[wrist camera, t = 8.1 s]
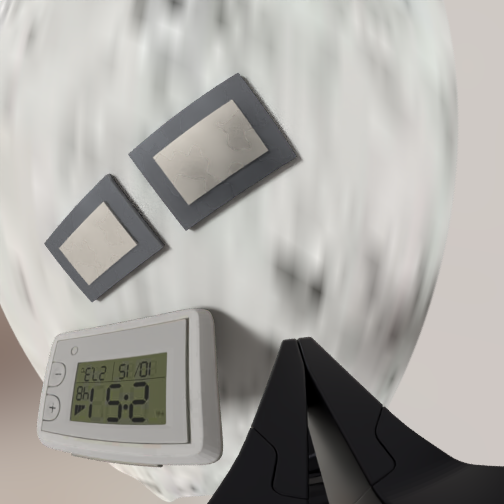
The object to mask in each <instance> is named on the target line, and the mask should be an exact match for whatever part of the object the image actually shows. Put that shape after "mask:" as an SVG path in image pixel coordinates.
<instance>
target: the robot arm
mask: <svg viewBox="0 0 504 504" xmlns="http://www.w3.org/2000/svg"><path fill="white" fill-rule="evenodd" d="M207 504H504V466H503V467H502V466H485V465H473V464H467V463H464V462H461V461H458V460H456V459H454V458H452V457H450V456H449V455H447V454H446V453H445V452H443V451H442V450H440V449H439V448H437V447H436V446H434V445H433V444H431V443H430V442H428V441H427V440H425V439H424V438H422V437H421V436H420V435H418V434H417V433H415V432H414V431H412V430H411V429H410V428H409V427H407V426H406V425H405V424H404V423H402V422H401V421H400V420H399V419H398V418H396V417H395V416H394V415H393V414H392V413H391V412H390V411H389V410H388V409H387V408H386V407H383V405H382V404H381V403H380V402H379V401H378V400H377V399H376V398H375V397H374V396H373V395H372V394H370V393H369V392H368V391H367V390H366V389H365V388H364V387H363V386H362V385H361V384H360V383H359V382H358V381H357V380H356V379H355V378H353V377H352V376H351V375H350V374H349V373H348V372H347V371H346V370H345V369H344V368H343V367H342V366H341V365H340V364H339V363H338V362H337V361H336V360H335V359H334V358H332V357H331V356H330V355H329V354H328V353H327V352H326V351H325V350H324V349H323V348H322V347H321V346H320V345H319V344H318V343H317V342H316V341H315V340H314V339H313V338H311V337H304V338H299V339H298V340H296V339H286V340H283V341H282V343H281V346H280V349H279V352H278V355H277V358H276V361H275V364H274V367H273V369H272V372H271V375H270V378H269V380H268V383H267V386H266V389H265V391H264V394H263V397H262V399H261V402H260V405H259V407H258V410H257V413H256V415H255V418H254V420H253V423H252V425H251V428H250V430H249V432H248V435H247V437H246V440H245V442H244V444H243V446H242V448H241V451H240V453H239V455H238V457H237V458H236V460H235V462H234V464H233V465H232V467H231V469H230V471H229V472H228V474H227V475H226V477H225V478H224V480H223V481H222V483H221V484H220V486H219V487H218V489H217V490H216V492H215V493H214V495H213V496H212V498H211V499H210V500H209V502H208V503H207Z"/></svg>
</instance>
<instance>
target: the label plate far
mask: <svg viewBox="0 0 504 504" xmlns="http://www.w3.org/2000/svg"><path fill="white" fill-rule="evenodd" d="M44 244H45V245H46V247H47V248H48V249H49V251H50V252H51V253H52V255H53V256H54V257H55V259H56V260H57V261H58V263H59V264H60V265H61V266H62V268H63V269H64V270H65V271H66V273H67V274H68V275H69V276H70V278H71V279H72V280H73V281H74V282H75V284H76V285H77V286H78V287H79V288H80V289H81V291H82V292H83V293H84V294H85V295H86V296H87V297H88V299H89V300H90V301H91V302H93V301H95V300H96V299H97V298H98V297H99V296H101V295H102V294H103V293H104V292H106V291H107V290H108V289H109V288H111V287H112V286H113V285H114V284H116V283H117V282H118V281H120V280H121V279H122V278H123V277H125V276H126V275H127V274H129V273H130V272H131V271H132V270H134V269H135V268H136V267H138V266H139V265H140V264H142V263H143V262H144V261H146V260H147V259H148V258H150V257H151V256H152V255H153V254H155V253H156V252H158V251H159V250H160V249H162V248H163V246H164V244H163V243H162V241H161V240H160V239H159V238H158V237H157V235H156V234H155V233H154V231H153V230H152V229H151V228H150V226H149V225H148V224H147V223H146V221H145V220H144V219H143V217H142V216H141V215H140V214H139V212H138V211H137V210H136V208H135V207H134V206H133V205H132V203H131V202H130V201H129V199H128V198H127V197H126V195H125V194H124V193H123V191H122V190H121V189H120V187H119V186H118V184H117V183H116V182H115V180H114V179H113V178H112V176H111V175H110V174H107V175H106V176H105V177H104V178H103V179H102V180H101V181H100V182H99V183H98V184H97V185H96V186H95V187H94V188H93V189H92V190H91V191H90V192H89V193H88V194H87V195H86V196H85V197H84V198H83V199H82V200H81V201H80V202H79V203H78V205H77V206H76V207H75V208H74V209H73V210H72V211H71V212H70V213H69V215H68V216H67V217H66V218H65V219H64V220H63V221H62V223H61V224H60V225H59V226H58V227H57V229H56V230H55V231H54V232H53V233H52V235H51V236H50V237H49V238H48V240H47V241H46V242H45V243H44Z"/></svg>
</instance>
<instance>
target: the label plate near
mask: <svg viewBox="0 0 504 504" xmlns="http://www.w3.org/2000/svg"><path fill="white" fill-rule="evenodd" d="M128 155H129V156H130V158H131V159H132V160H133V162H134V163H135V164H136V166H137V167H138V169H139V170H140V171H141V173H142V174H143V175H144V177H145V178H146V179H147V181H148V182H149V183H150V185H151V186H152V187H153V189H154V190H155V191H156V193H157V194H158V195H159V197H160V198H161V199H162V201H163V202H164V203H165V204H166V206H167V207H168V208H169V210H170V211H171V212H172V214H173V215H174V216H175V217H176V219H177V220H178V221H179V223H180V224H181V225H182V226H183V228H184V229H185V230H188V229H189V228H190V227H192V226H193V225H195V224H196V223H198V222H199V221H200V220H202V219H203V218H205V217H206V216H207V215H209V214H210V213H212V212H213V211H215V210H216V209H218V208H219V207H221V206H222V205H223V204H225V203H226V202H228V201H229V200H231V199H232V198H234V197H235V196H237V195H238V194H240V193H241V192H243V191H244V190H246V189H247V188H249V187H250V186H252V185H253V184H255V183H256V182H258V181H259V180H261V179H262V178H264V177H266V176H267V175H269V174H270V173H272V172H273V171H275V170H276V169H278V168H280V167H281V166H283V165H284V164H286V163H288V162H289V161H291V160H292V159H294V158H296V157H297V156H296V154H295V153H294V151H293V150H292V148H291V147H290V145H289V144H288V142H287V141H286V139H285V138H284V136H283V135H282V133H281V132H280V130H279V129H278V127H277V126H276V124H275V123H274V121H273V120H272V118H271V117H270V116H269V114H268V113H267V111H266V110H265V108H264V107H263V106H262V104H261V103H260V101H259V100H258V99H257V97H256V96H255V95H254V93H253V92H252V90H251V89H250V88H249V86H248V85H247V84H246V82H245V81H244V80H243V78H242V77H241V76H240V74H239V73H237V74H235V75H234V76H232V77H230V78H229V79H227V80H226V81H224V82H222V83H221V84H219V85H218V86H216V87H215V88H213V89H212V90H210V91H209V92H207V93H206V94H204V95H203V96H202V97H200V98H199V99H197V100H196V101H194V102H193V103H192V104H190V105H189V106H187V107H186V108H185V109H183V110H182V111H181V112H179V113H178V114H177V115H175V116H174V117H173V118H171V119H170V120H169V121H168V122H166V123H165V124H164V125H162V126H161V127H160V128H159V129H158V130H156V131H155V132H154V133H153V134H151V135H150V136H149V137H148V138H147V139H145V140H144V141H143V142H142V143H141V144H140V145H138V146H137V147H136V148H135V149H134V150H133V151H132V152H130V153H129V154H128Z"/></svg>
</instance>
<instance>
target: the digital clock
mask: <svg viewBox="0 0 504 504" xmlns="http://www.w3.org/2000/svg"><path fill="white" fill-rule="evenodd" d="M37 434H38V437H39V439H40V441H41V442H42V444H43V445H45V446H46V447H49V448H52V449H56V450H60V451H64V452H69V453H71V454H72V455H73V456H77V457H82V458H87V459H92V460H98V461H104V462H111V463H118V464H126V465H136V466H149V467H162V466H163V465H205V464H211V463H214V462H216V461H218V460H219V459H220V458H221V456H222V453H223V436H222V423H221V412H220V399H219V386H218V372H217V356H216V339H215V325H214V319H213V317H212V314H211V313H210V312H209V311H208V310H205V309H186V310H180V311H175V312H170V313H165V314H160V315H155V316H151V317H146V318H141V319H136V320H131V321H126V322H121V323H116V324H110V325H105V326H100V327H94V328H89V329H83V330H78V331H72V332H67V333H62V334H59V335H57V336H56V337H55V339H54V341H53V344H52V347H51V351H50V355H49V359H48V364H47V368H46V373H45V378H44V383H43V388H42V394H41V400H40V406H39V414H38V422H37Z"/></svg>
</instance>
